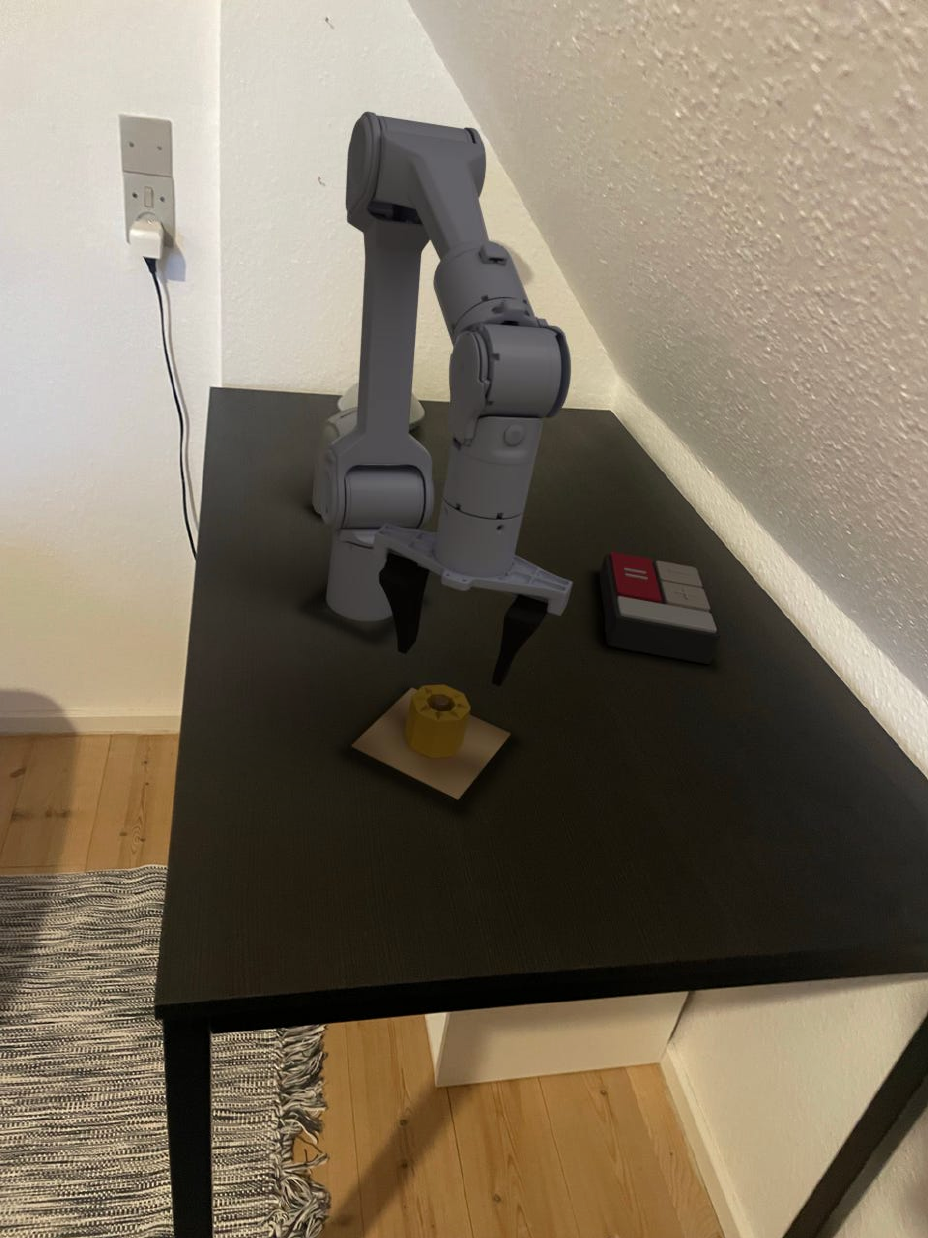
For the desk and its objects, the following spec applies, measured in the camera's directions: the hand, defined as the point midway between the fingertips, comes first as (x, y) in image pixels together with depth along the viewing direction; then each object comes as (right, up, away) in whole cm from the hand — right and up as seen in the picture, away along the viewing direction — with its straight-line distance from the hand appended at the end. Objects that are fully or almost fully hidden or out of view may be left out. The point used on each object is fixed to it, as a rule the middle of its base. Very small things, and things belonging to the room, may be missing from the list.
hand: (452, 662), depth 72 cm
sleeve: (-2, -7, +7) cm, 10 cm away
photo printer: (-13, +17, +41) cm, 47 cm away
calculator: (+21, +3, +32) cm, 38 cm away
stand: (-2, -7, +7) cm, 11 cm away
